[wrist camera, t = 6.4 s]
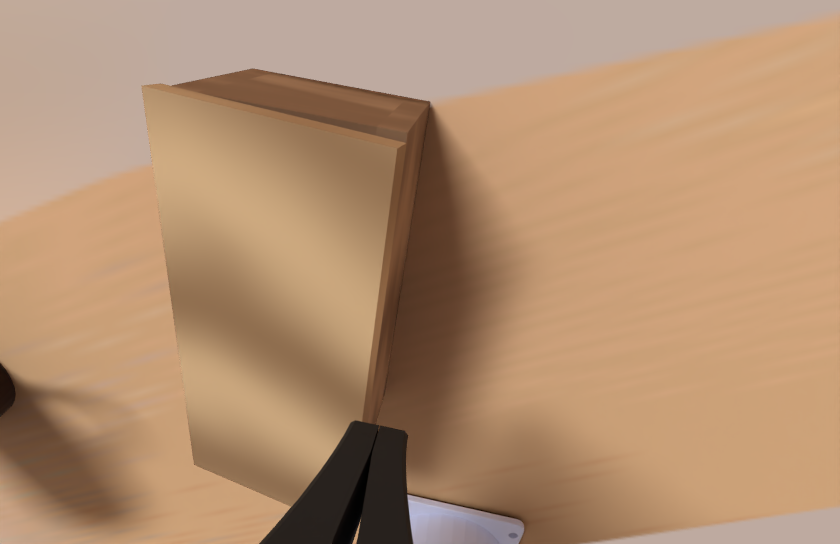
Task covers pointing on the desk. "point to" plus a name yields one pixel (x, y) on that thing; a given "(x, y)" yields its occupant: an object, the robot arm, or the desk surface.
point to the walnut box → (355, 113)
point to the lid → (271, 279)
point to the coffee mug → (6, 391)
